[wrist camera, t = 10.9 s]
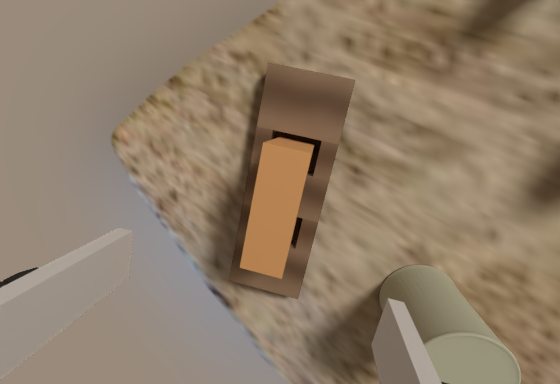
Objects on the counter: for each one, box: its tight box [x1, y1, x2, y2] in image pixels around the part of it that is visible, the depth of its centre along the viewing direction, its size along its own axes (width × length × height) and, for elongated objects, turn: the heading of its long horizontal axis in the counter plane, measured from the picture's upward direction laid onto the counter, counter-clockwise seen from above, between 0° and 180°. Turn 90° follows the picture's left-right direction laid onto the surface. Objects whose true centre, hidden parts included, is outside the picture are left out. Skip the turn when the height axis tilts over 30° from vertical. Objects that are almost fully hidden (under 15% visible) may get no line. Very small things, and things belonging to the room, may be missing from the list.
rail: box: [229, 63, 355, 299], centre depth 32 cm, size 26×9×2 cm, turn 168°
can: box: [379, 265, 521, 384], centre depth 29 cm, size 9×9×12 cm
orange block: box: [240, 137, 314, 279], centre depth 29 cm, size 12×4×10 cm, turn 168°
